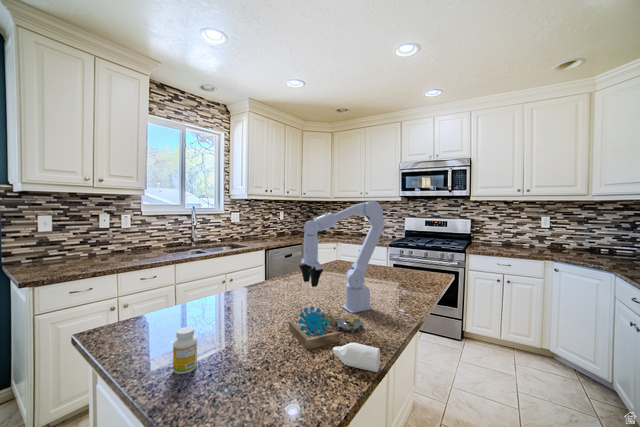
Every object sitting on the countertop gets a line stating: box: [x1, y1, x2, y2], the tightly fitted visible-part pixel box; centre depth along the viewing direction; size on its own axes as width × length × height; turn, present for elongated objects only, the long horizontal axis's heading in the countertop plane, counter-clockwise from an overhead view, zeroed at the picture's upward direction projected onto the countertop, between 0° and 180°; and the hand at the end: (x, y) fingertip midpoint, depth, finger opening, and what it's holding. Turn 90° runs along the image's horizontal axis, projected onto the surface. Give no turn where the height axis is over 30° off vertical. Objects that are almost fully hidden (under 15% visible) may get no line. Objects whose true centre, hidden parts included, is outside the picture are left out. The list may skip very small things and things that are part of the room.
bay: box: [288, 320, 341, 350], centre depth 89 cm, size 11×14×3 cm
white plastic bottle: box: [332, 342, 381, 373], centre depth 72 cm, size 6×12×6 cm, turn 68°
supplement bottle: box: [172, 326, 198, 375], centre depth 70 cm, size 5×5×10 cm
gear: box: [298, 305, 332, 337], centre depth 92 cm, size 11×6×10 cm
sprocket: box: [334, 315, 365, 334], centre depth 95 cm, size 10×9×4 cm
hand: (310, 283), depth 112 cm, fingers open, 7 cm apart
